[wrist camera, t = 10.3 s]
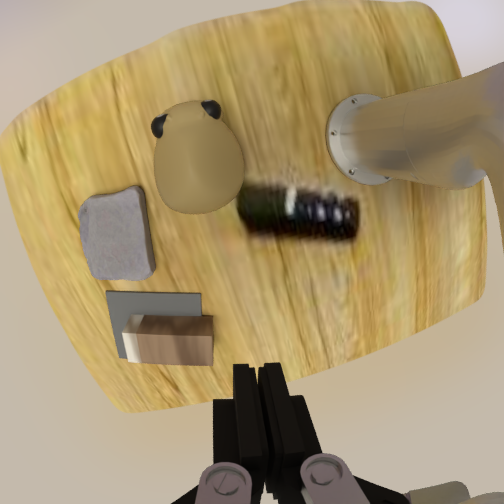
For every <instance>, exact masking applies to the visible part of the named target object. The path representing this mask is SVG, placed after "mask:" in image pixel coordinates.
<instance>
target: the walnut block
mask: <svg viewBox="0 0 504 504" xmlns="http://www.w3.org/2000/svg"><path fill="white" fill-rule="evenodd" d="M122 335H123V340H124V345H125V349H126V353H127V358H128V362H134V363H148V364H165V365H193V366H213V347H214V344H213V316H162V315H136V314H131V316H130V318H129V320H128V322H127V324H126V326H125V328H124V330H123V332H122Z"/></svg>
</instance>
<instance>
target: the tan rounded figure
mask: <svg viewBox="0 0 504 504" xmlns="http://www.w3.org/2000/svg"><path fill="white" fill-rule="evenodd" d="M222 117H223V112H222V110H221V107H220V105H219V104H218V103H217V102H216V101H214V100H205V101H190V102H185V103H181V104H178V105H175V106H173V107H171V108H169V109H167V110H166V111H165V112H163V113H162V114H161V115H158V116H157V117H155V118H154V120H153V121H152V124H151V129H152V133H153V134H154V136H155V137H157V142H156V147H155V152H154V173H155V180H156V185H157V188H158V191H159V194H160V196H161V198H162V200H163V201H164V203H165V204H166V205H167V206H168V207H169V208H171V209H173V210H175V211H178V212H181V213H185V214H204V213H209V212H212V211H215V210H217V209H220V208H222V207H223V206H225V205H226V204H228V203H229V202H230V201H231V200H233V199H234V197H235V196H236V195H237V194H238V192H239V191H240V189H241V186H242V184H243V179H244V160H243V155H242V151H241V148H240V145H239V143H238V141H237V139H236V137H235V136H234V134H233V133H232V132H231V130H230V129H229V128H228V127H227V126H226V125H225V123H224V122H222Z"/></svg>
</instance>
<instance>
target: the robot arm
mask: <svg viewBox="0 0 504 504" xmlns="http://www.w3.org/2000/svg"><path fill="white" fill-rule="evenodd" d="M352 101H353V103H352ZM331 132H333V135H331ZM326 141H327V147H328V150H329V154H330V156H331V158H332V160H333V162H334V163H335V165H336V166H337V168H338V169H339V170H340V171H341V172H342V173H343V174H344V175H345V176H347V177H348V178H350V179H351V180H353V181H355V182H358V183H361V184H365V185H380V184H383V183H386V182H388V181H390V180H391V179H393V178H397V179H402V180H407V181H412V182H417V183H421V184H426V185H431V186H435V187H439V188H445V189H450V190H462V189H466V188H469V187H472V186H473V185H475V184H476V183H478V182H479V181H480V180H482V179H483V178H484V177H485V176H486V175H487V176H488V178H489V180H490V183H491V186H492V190H493V194H494V198H495V203H496V205H497V211H498V216H499V222H500V229H501V236H502V243H503V251H504V62H502V63H499V64H497V65H494V66H492V67H489V68H487V69H485V70H482V71H480V72H478V73H475V74H472V75H469V76H467V77H463V78H460V79H457V80H453V81H450V82H446V83H442V84H437V85H433V86H429V87H425V88H421V89H416V90H412V91H409V92H405V93H401V94H397V95H394V96H390V97H386V98H381V97H378V96H376V95H372V94H356V95H353V96H350V97H348V98H346V99H344V100H343V101H341V102H340V103H339V104H338V105H337V106H336V107H335V108H334V110H333V111H332V113H331V115H330V117H329V120H328V123H327V128H326ZM349 170H350V171H351V172H350V173H349ZM213 462H214V464H213V465H211V466H209V467H208V468H206V469H205V470H204V471H203V473H202V475H201V477H200V481H199V485H197V486H196V487H194V488H193V489H192V490H190V491H189V492H187V493H186V494H185V495H183V496H182V497H180V498H179V499H177V500H176V501H175V502H173V503H171V504H260V500H261V495H262V493H263V489H264V483H265V485H266V491H267V493H273V498H274V500H275V499H278V504H504V492H492V493H486V494H483V495H479V496H476V497H473V498H470V495H469V492H468V489H467V487H466V486H465V485H464V484H463V483H461V482H458V481H453V482H448V483H444V484H441V485H436V486H432V487H427V488H422V489H418V490H412V491H409V492H408V493H405V494H400V493H398V492H396V491H393V490H390V489H387V488H384V487H381V486H379V485H376V484H373V483H370V482H368V481H366V480H363V479H361V478H358V477H356V476H354V475H352V473H351V472H350V470H349V468H348V467H347V465H346V464H345V462H344V461H343V460H342V459H340V458H339V457H337V456H335V455H332V454H325V453H322V450H321V447H320V444H319V441H318V438H317V435H316V432H315V429H314V426H313V423H312V420H311V417H310V414H309V411H308V408H307V405H306V402H305V399H304V397H303V396H302V395H296V396H290V395H289V392H288V389H287V385H286V381H285V378H284V374H283V371H282V367H281V364H280V362H278V363H264V367H259V369H258V384H257V379H256V373H255V368H254V367H253V368H249V364H233V399H213Z"/></svg>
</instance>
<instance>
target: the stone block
mask: <svg viewBox="0 0 504 504" xmlns="http://www.w3.org/2000/svg"><path fill="white" fill-rule="evenodd" d="M78 218H79V220H80V237H81V241H82V245H83V251H84V254H85V257H86V258H87V263H88V266H89V269H90V271H91V274H92V276H93V277H94V278H96V279H99V280H104V279H105V280H119V279H124V280H131V281H139V280H145V279H146V278H148V277H150V276H151V275H153V273H154V270H155V268H156V265H155V259H154V254H153V248H152V242H151V236H150V230H149V223H148V217H147V211H146V202H145V195H144V192H143V190H142V189H140V188H139V187H138V186H131V187H129V188H127V189H125V190H123V191H120V192H117V193H114V194H109V195H107V194H104V195H94V196H91V197H90V198H88V199H87V200H86V201H85V202H84V203H83V204H82V206H81V207H80V210H79V213H78Z"/></svg>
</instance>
